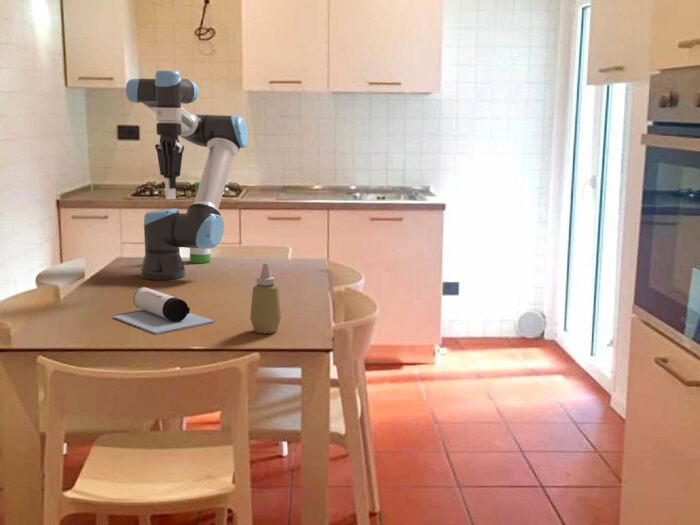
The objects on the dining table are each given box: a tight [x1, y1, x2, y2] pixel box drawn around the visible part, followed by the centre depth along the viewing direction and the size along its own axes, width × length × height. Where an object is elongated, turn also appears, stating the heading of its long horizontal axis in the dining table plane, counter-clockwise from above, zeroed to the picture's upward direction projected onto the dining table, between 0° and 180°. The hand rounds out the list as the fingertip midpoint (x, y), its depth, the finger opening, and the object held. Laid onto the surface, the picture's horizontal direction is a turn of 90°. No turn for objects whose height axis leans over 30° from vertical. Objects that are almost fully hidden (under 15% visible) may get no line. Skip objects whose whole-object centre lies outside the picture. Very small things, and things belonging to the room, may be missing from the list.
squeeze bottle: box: [249, 263, 282, 335], centre depth 206 cm, size 8×8×18 cm
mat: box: [113, 310, 215, 335], centre depth 217 cm, size 22×18×1 cm
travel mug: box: [132, 286, 190, 322], centre depth 220 cm, size 6×7×20 cm
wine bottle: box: [189, 182, 212, 264], centre depth 300 cm, size 8×8×30 cm
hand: (170, 198), depth 248 cm, fingers closed
